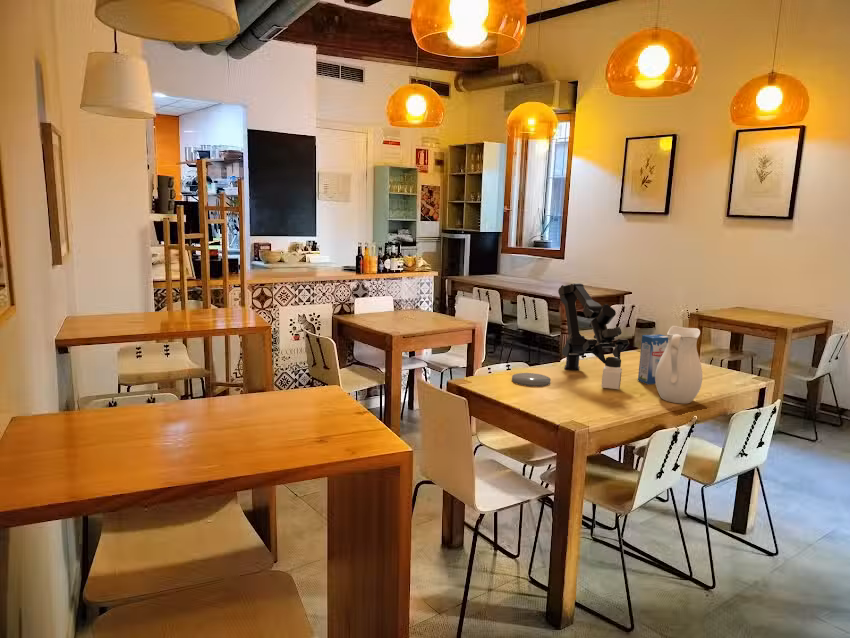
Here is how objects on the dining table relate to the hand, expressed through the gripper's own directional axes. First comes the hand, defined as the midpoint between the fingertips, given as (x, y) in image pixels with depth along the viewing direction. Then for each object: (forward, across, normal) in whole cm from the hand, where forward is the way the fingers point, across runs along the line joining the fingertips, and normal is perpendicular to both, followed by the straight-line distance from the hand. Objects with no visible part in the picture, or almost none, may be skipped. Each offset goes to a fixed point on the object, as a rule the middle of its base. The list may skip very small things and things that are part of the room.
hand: (612, 363), depth 255 cm
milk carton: (+3, +24, +13) cm, 28 cm away
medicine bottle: (+7, 0, +6) cm, 10 cm away
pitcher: (+22, +16, -7) cm, 28 cm away
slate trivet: (-2, -28, +18) cm, 34 cm away
